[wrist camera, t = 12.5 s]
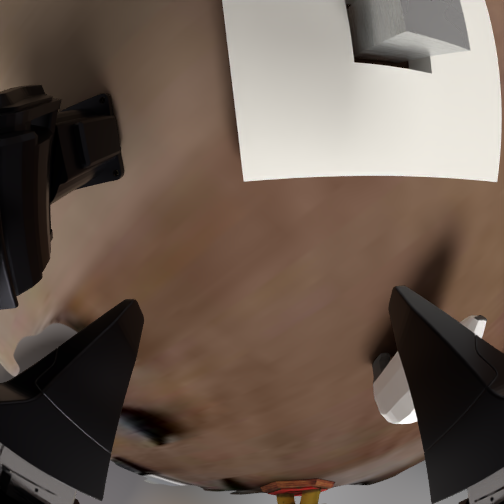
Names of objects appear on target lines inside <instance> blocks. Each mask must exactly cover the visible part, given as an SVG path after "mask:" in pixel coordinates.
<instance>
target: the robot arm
mask: <svg viewBox="0 0 504 504" xmlns="http://www.w3.org/2000/svg"><path fill="white" fill-rule="evenodd" d="M103 98H105V102H104V103H103V102H102V99H103ZM60 105H61V99H55V98H53V96H47V94H45V92H44V90H43V88H42V85H30V86H21V87H15V88H10V89H7V90H4V91H1V92H0V309H10V308H16V307H18V301H17V297H16V296H18V295H20V294H22V293H23V292H25V291H27V290H29V289H30V288H32V287H33V286H34V285H36V284H37V283H38V282H39V281H40V280H41V279H42V272H43V271H44V269H45V267H46V265H47V263H48V262H49V260H50V252H51V243H50V242H51V240H52V238H53V233H52V229H51V218H50V205H51V204H52V203H54V202H56V201H57V200H59V199H60V198H62V197H63V196H65V195H67V194H68V193H70V192H72V191H73V190H76V189H79V188H83V187H88V186H92V185H96V184H100V183H105V182H109V181H114V180H118V179H120V178H121V177H122V176H123V175H124V168H123V164H122V159H121V154H120V151H121V147H120V141H119V136H118V130H117V125H116V119H115V117H114V115H113V109H112V102H111V97H110V95H109V94H107V93H104V94H100V95H97V96H95V97H92V98H90V99H87V100H85V101H82V102H80V103H78V104H75V105H73V106H71V107H69V108H67V109H64V110H62V111H60V112H58V109H60ZM57 112H58V113H57ZM116 170H117V171H118V172H119V175H117V174H116V172H115V171H116ZM389 314H390V319H391V323H392V327H393V332H394V336H395V341H396V346H397V349H398V353H399V356H400V359H401V362H402V366H403V369H404V372H405V376H406V379H407V383H408V386H409V390H410V393H411V397H412V401H413V405H414V409H415V413H416V417H417V421H418V425H419V430H420V434H421V439H422V444H423V449H424V452H425V453H424V455H425V461H426V467H427V473H428V479H429V487H430V495H431V502H432V504H434V503H436V502H439V501H441V500H443V499H446V498H448V497H450V496H453V495H455V494H457V493H459V492H461V491H463V490H465V489H467V491H468V497H469V498H467V499H465V500H463V501H461V502H459V504H504V353H502V352H500V351H499V350H497V349H496V348H494V347H493V346H491V345H490V344H489V343H487V342H486V341H484V340H483V339H482V338H480V337H479V336H478V335H475V333H473V332H472V331H471V330H469V329H468V328H466V327H465V326H464V325H462V324H461V323H459V322H458V321H457V320H455V319H454V318H452V317H451V316H449V315H448V314H447V313H445V312H444V311H442V310H441V309H439V308H438V307H436V306H435V305H433V304H432V303H430V302H429V301H427V300H426V299H424V298H423V297H421V296H420V295H418V294H417V293H415V292H414V291H412V290H411V289H409V288H408V287H406V286H395V287H394V288H393V290H392V294H391V298H390V302H389ZM143 324H144V317H143V314H142V312H141V309H140V307H139V305H138V302H137V301H136V300H134V299H126V300H124V301H122V302H121V303H119V304H118V305H117V306H115V307H114V308H112V309H111V310H109V311H108V312H106V313H105V314H104V315H102V316H101V317H99V318H98V319H97V320H95V321H94V322H92V323H91V324H90V325H88V326H87V327H85V328H84V329H83V330H81V331H80V332H78V333H77V334H76V335H74V336H73V337H72V338H70V339H69V340H67V341H66V342H65V343H63V344H62V345H61V346H59V347H58V349H57V348H56V349H55V350H54V351H52V352H51V353H50V354H48V355H47V356H46V357H44V358H43V359H41V360H40V361H38V362H37V363H35V364H34V365H32V366H31V367H29V368H28V369H26V370H25V371H23V372H22V373H20V374H18V375H17V376H15V377H14V378H12V379H11V380H9V381H7V382H4V383H0V504H79V502H78V500H77V499H75V496H76V493H77V490H78V491H80V492H82V493H84V494H86V495H88V496H91V497H93V498H95V499H98V500H100V501H102V499H103V495H104V489H105V483H106V477H107V472H108V467H109V462H110V457H111V452H112V447H113V443H114V439H115V434H116V430H117V426H118V422H119V418H120V414H121V410H122V406H123V403H124V399H125V395H126V392H127V388H128V385H129V381H130V378H131V374H132V371H133V368H134V364H135V361H136V357H137V353H138V348H139V343H140V338H141V333H142V329H143Z"/></svg>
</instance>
